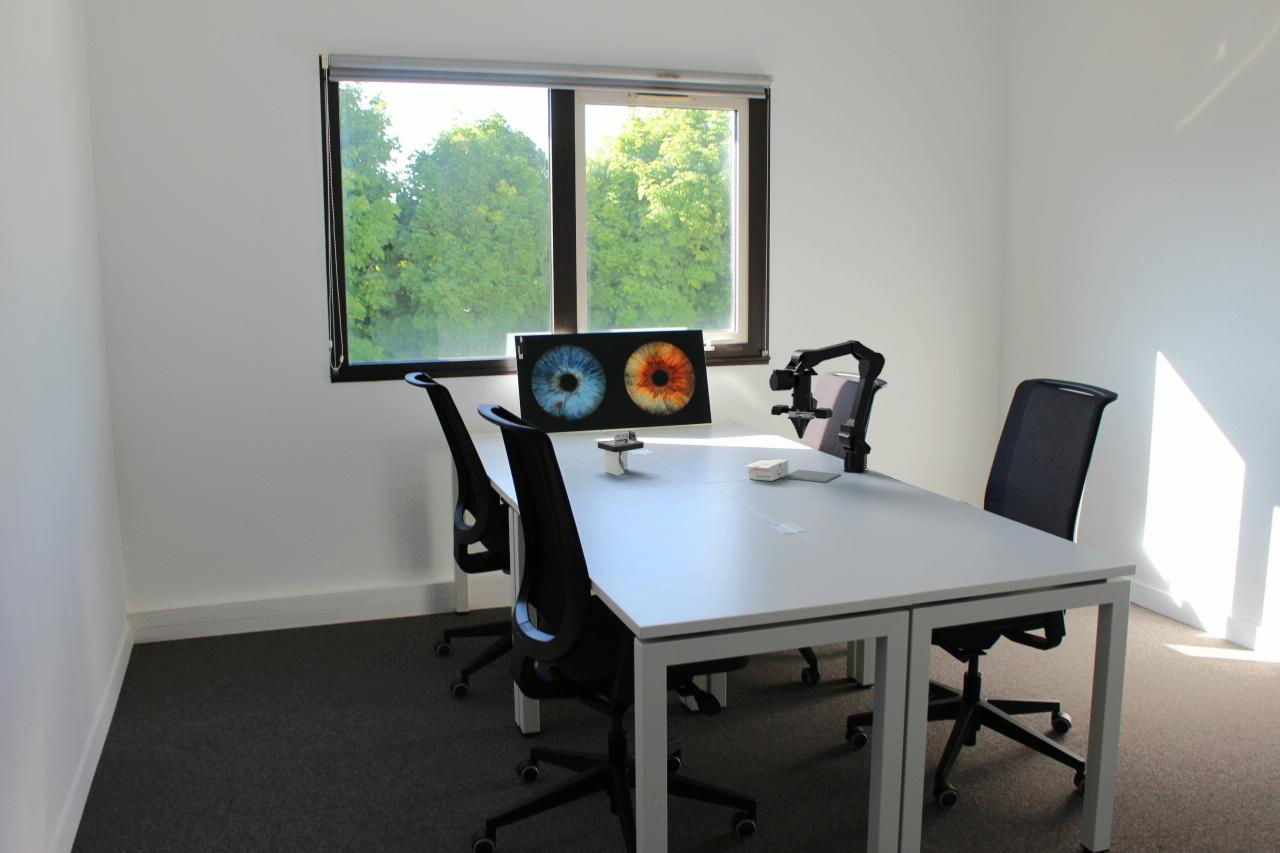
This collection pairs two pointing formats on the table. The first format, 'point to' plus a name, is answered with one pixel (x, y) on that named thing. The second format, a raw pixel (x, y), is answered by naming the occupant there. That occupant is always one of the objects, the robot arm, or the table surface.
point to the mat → (811, 476)
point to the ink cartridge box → (768, 469)
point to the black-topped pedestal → (619, 452)
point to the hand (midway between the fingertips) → (800, 438)
